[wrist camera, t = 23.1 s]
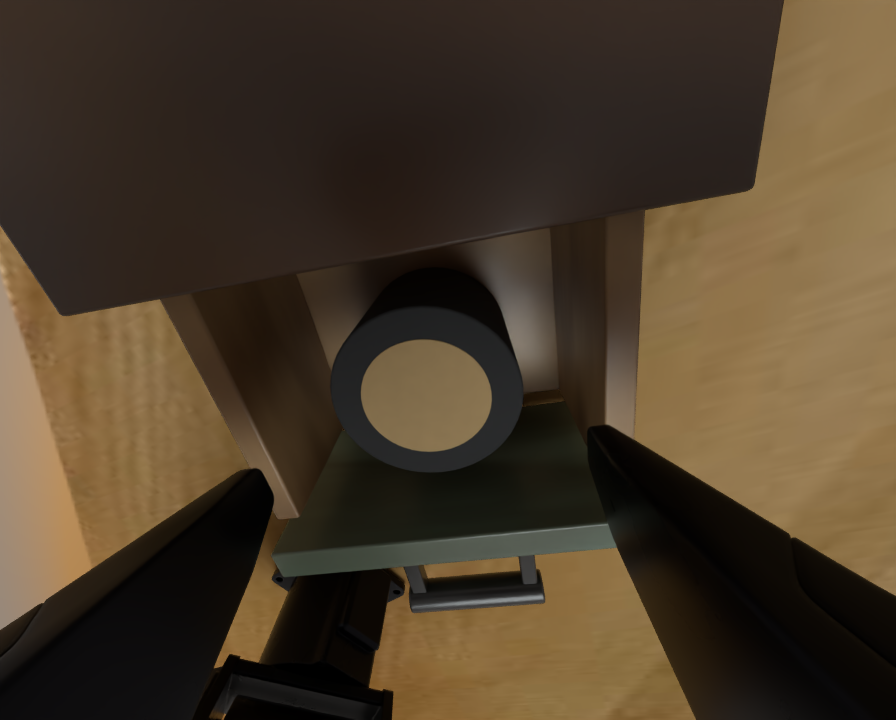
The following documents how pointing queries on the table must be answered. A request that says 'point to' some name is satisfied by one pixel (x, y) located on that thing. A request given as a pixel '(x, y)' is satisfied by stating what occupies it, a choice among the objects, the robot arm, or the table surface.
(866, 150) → the table surface
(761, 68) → the cabinet
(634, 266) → the drawer
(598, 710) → the table surface
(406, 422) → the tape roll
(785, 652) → the robot arm
